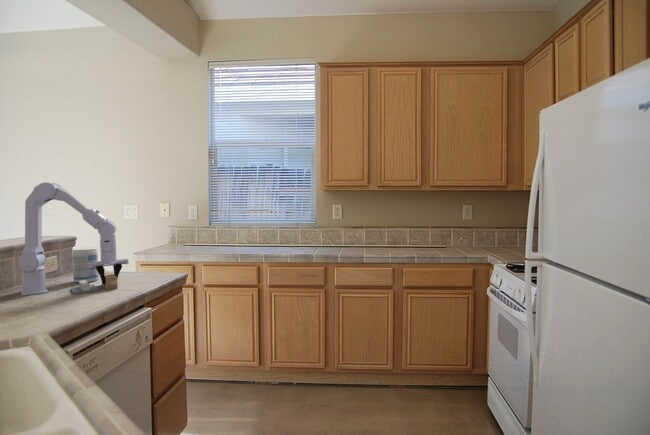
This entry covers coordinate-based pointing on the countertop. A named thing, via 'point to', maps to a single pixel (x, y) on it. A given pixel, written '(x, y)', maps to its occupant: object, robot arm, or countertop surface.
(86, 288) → the fulcrum stand
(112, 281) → the oak stick
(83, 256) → the supplement tub
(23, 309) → the countertop surface
